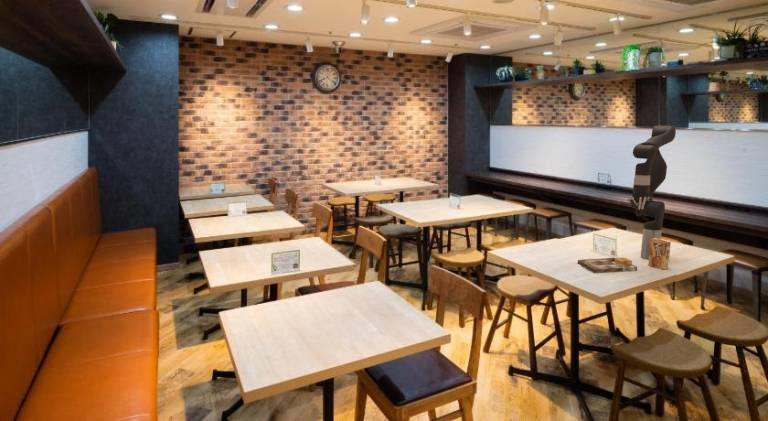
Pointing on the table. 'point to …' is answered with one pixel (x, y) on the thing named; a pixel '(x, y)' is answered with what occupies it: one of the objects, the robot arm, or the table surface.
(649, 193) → the robot arm
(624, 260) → the ochre block
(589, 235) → the table surface
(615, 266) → the compartment board
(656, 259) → the candy box
